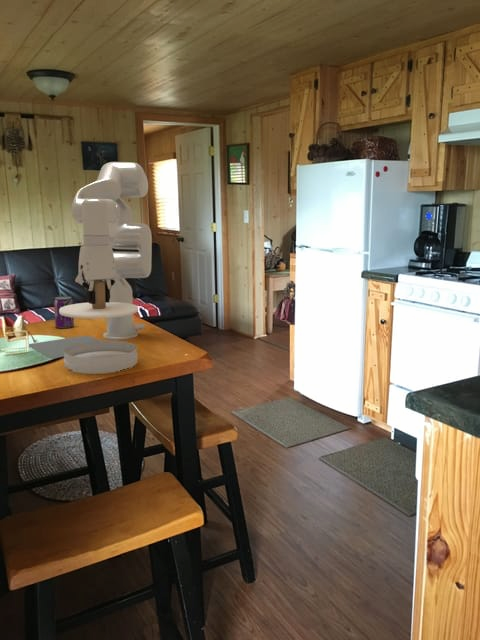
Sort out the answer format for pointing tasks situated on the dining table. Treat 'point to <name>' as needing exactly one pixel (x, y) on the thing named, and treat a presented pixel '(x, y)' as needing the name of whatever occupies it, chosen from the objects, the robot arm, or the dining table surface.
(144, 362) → the dining table surface
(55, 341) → the mat
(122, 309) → the lid
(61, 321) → the beverage can
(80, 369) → the dish
